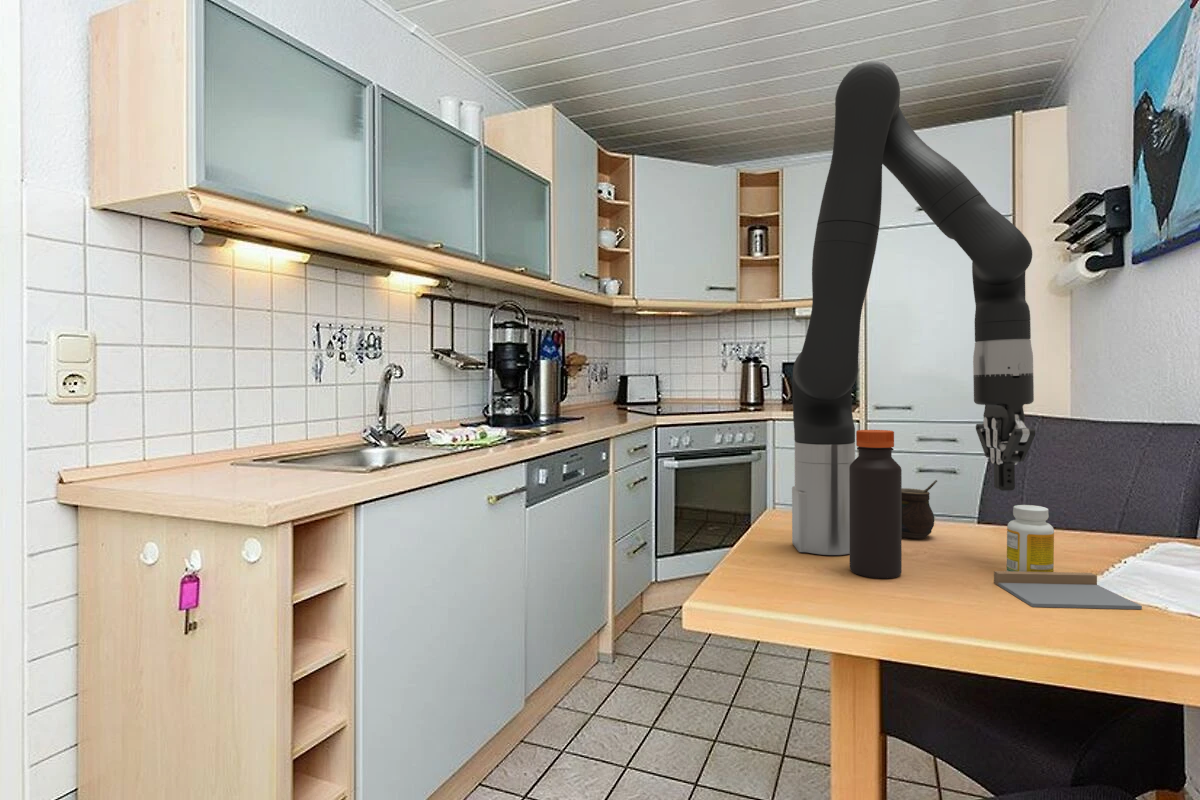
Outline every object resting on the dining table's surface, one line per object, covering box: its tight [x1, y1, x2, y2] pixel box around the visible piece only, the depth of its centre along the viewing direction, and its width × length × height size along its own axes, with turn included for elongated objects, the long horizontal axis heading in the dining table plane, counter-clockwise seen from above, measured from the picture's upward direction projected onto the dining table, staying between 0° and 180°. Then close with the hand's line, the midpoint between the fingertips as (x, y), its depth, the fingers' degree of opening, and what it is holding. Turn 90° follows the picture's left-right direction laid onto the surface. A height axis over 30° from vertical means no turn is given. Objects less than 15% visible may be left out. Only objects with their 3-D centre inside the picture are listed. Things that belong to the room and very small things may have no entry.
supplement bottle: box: [1006, 504, 1055, 572], centre depth 90 cm, size 5×5×10 cm
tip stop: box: [993, 570, 1143, 610], centre depth 82 cm, size 12×9×2 cm
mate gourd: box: [902, 479, 938, 540], centre depth 115 cm, size 7×8×10 cm
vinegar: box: [849, 429, 903, 580], centre depth 93 cm, size 7×7×20 cm
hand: (1004, 489), depth 97 cm, fingers closed
